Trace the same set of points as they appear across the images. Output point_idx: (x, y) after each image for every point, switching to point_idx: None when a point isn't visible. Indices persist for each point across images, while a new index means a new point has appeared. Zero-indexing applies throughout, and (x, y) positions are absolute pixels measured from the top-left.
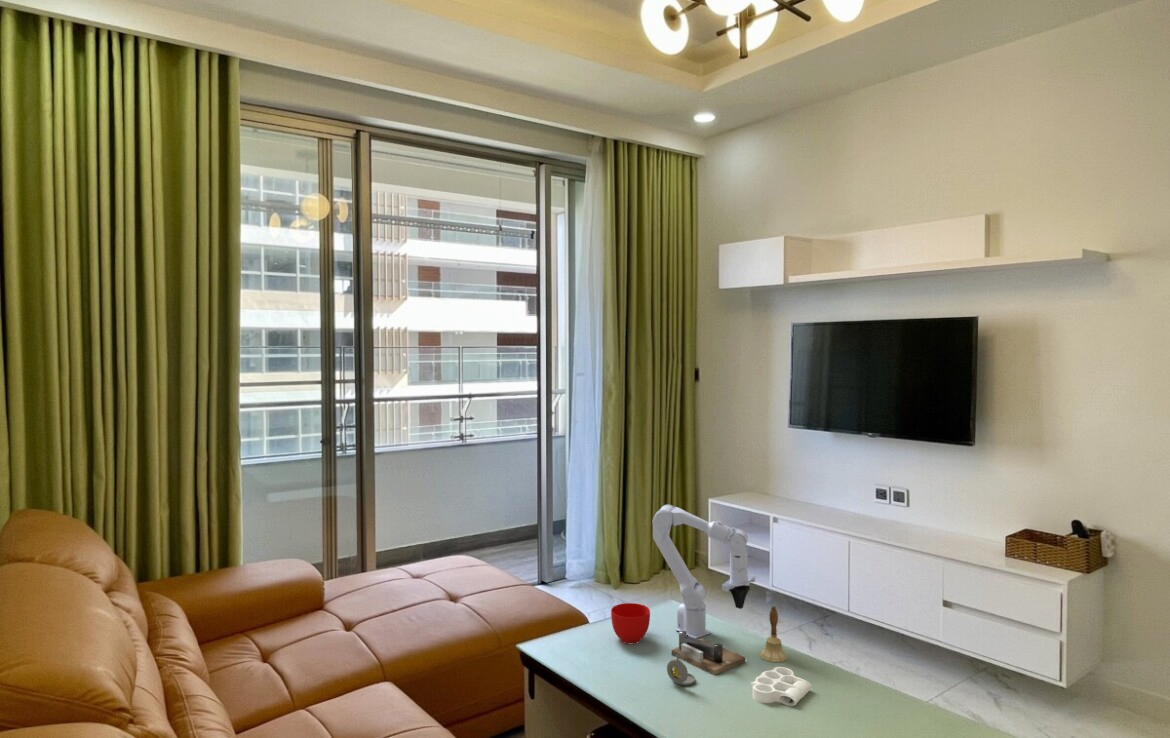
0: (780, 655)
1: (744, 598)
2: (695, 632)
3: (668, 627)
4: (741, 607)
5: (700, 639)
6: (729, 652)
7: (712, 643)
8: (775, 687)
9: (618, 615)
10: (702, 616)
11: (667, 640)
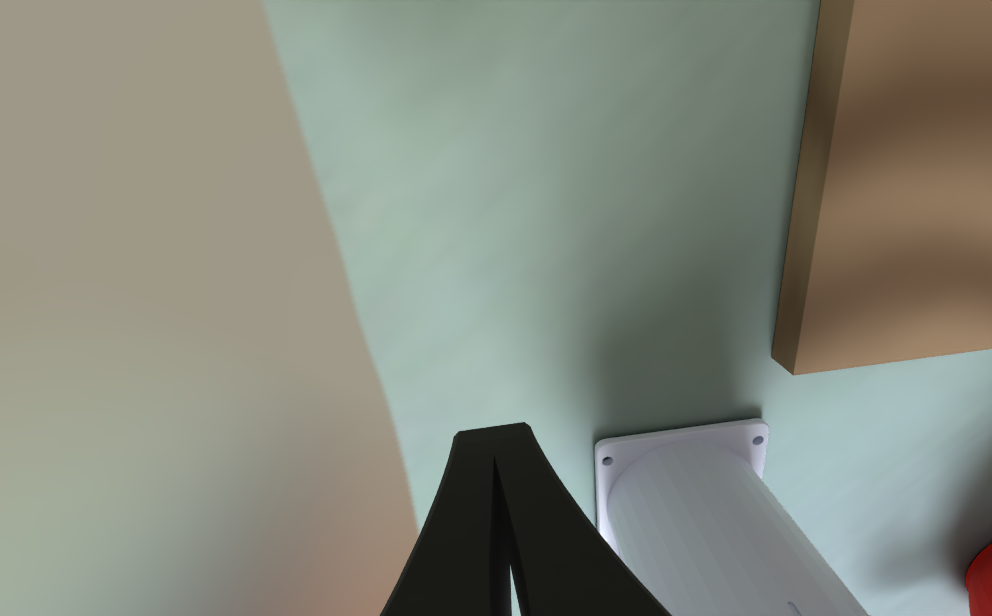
0: None
1: (438, 581)
2: (746, 465)
3: None
4: (504, 434)
5: (822, 363)
6: (891, 11)
7: (821, 260)
8: None
9: None
10: (764, 559)
11: (896, 479)
